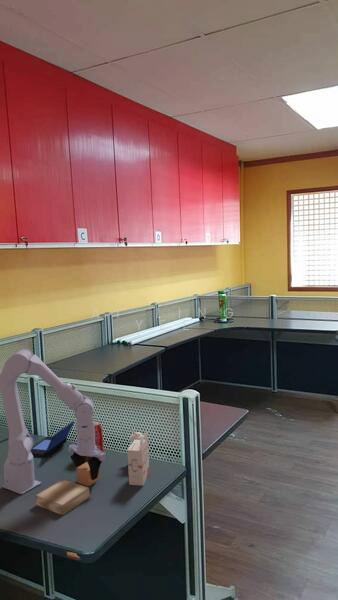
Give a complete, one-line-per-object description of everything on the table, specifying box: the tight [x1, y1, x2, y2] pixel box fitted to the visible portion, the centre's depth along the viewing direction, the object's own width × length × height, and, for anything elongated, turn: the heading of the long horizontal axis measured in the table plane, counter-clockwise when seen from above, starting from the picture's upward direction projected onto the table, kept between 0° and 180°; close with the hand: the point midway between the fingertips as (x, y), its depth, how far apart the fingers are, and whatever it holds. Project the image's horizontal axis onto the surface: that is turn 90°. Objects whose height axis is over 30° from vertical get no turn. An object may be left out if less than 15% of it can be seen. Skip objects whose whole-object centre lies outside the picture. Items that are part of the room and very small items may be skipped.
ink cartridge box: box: [126, 431, 150, 487], centre depth 149 cm, size 9×5×15 cm, turn 168°
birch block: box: [35, 479, 91, 516], centre depth 137 cm, size 11×11×4 cm
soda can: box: [87, 419, 104, 458], centre depth 169 cm, size 7×7×12 cm
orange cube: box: [76, 461, 100, 487], centre depth 149 cm, size 5×5×5 cm
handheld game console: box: [31, 420, 75, 458], centre depth 176 cm, size 16×13×9 cm
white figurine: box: [129, 428, 144, 443], centre depth 161 cm, size 9×4×12 cm, turn 36°
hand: (88, 476), depth 149 cm, fingers closed on orange cube, 5 cm apart
